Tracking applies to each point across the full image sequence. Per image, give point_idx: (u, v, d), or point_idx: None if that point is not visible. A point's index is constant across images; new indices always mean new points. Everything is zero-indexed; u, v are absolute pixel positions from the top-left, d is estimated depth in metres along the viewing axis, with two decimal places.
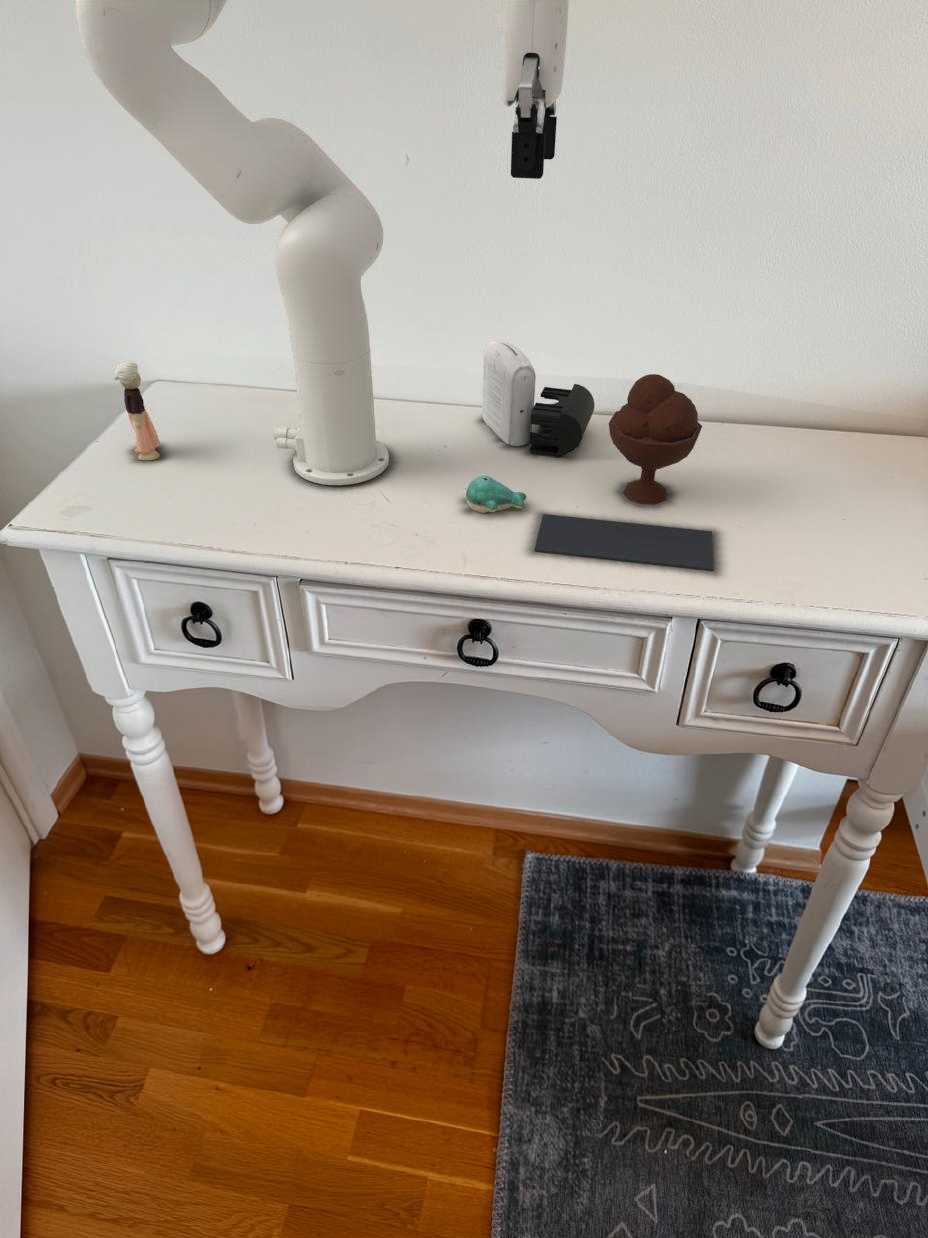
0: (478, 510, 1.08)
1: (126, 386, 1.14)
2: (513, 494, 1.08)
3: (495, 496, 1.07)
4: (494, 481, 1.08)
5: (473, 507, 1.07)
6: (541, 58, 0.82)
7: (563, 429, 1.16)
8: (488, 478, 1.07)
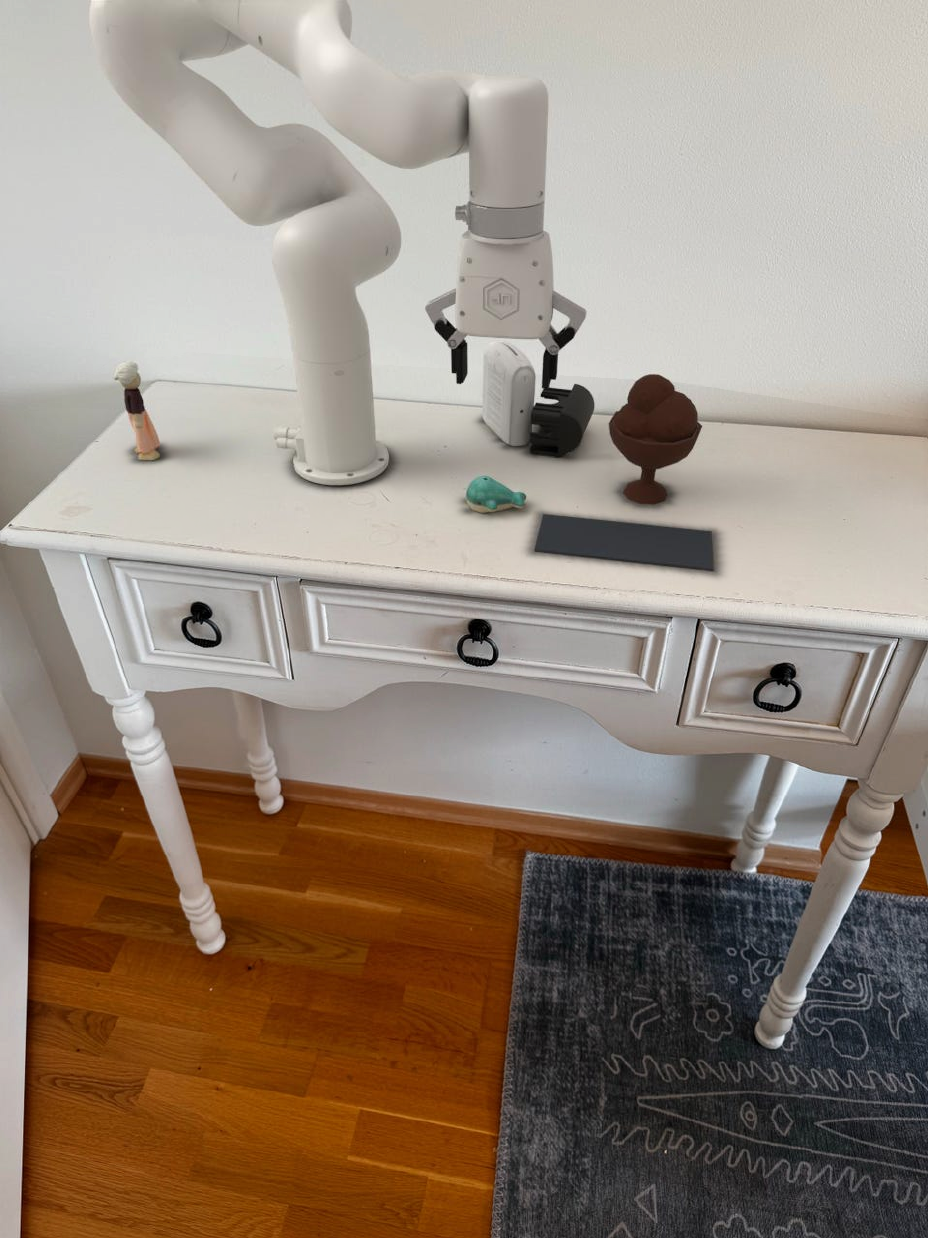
0: (478, 510, 1.08)
1: (126, 386, 1.14)
2: (513, 494, 1.08)
3: (495, 496, 1.07)
4: (494, 481, 1.08)
5: (473, 507, 1.07)
6: (553, 290, 0.94)
7: (563, 429, 1.16)
8: (488, 478, 1.07)
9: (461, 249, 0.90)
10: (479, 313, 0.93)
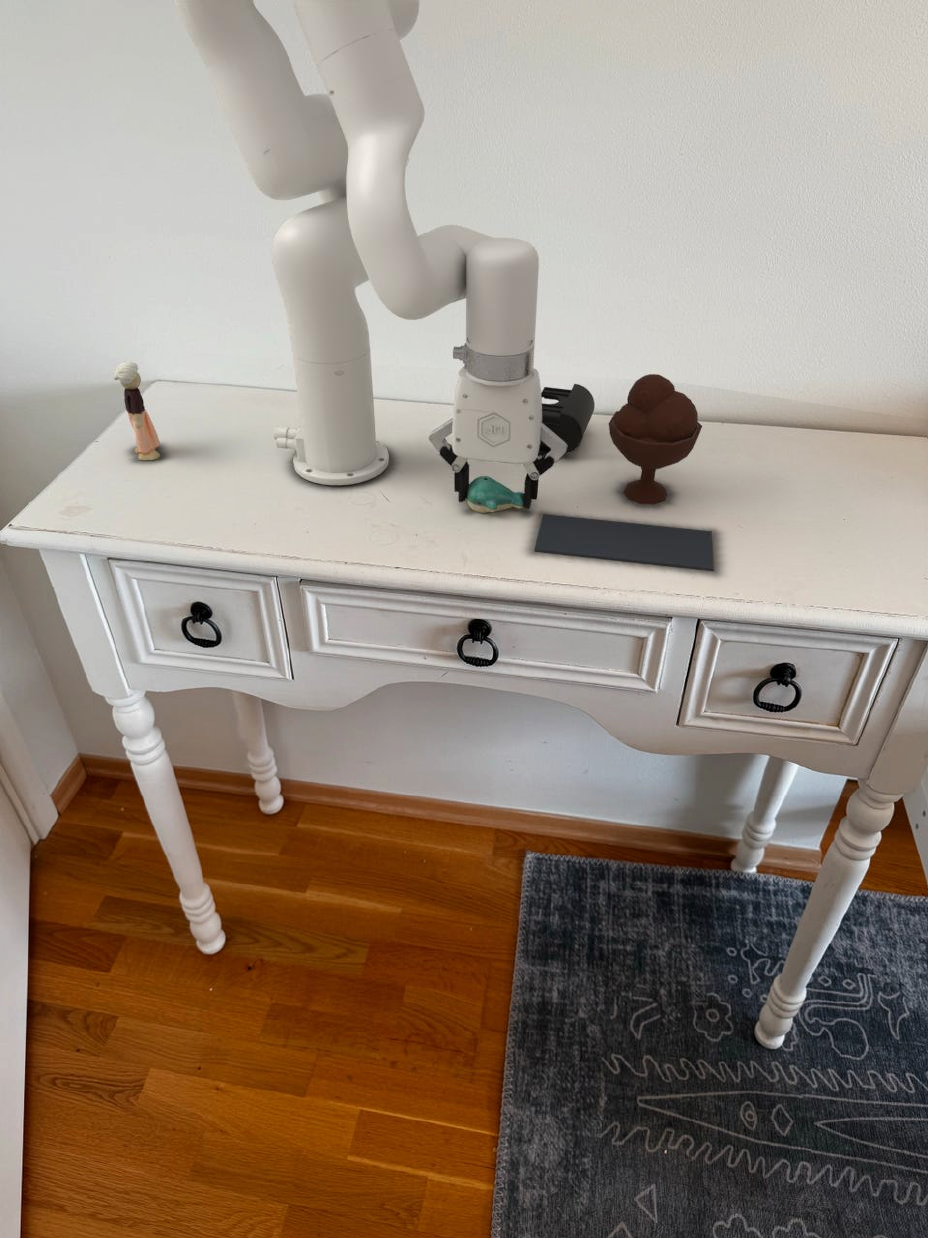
0: (478, 510, 1.08)
1: (126, 386, 1.14)
2: (513, 494, 1.08)
3: (495, 496, 1.07)
4: (494, 481, 1.08)
5: (473, 507, 1.07)
6: None
7: (563, 429, 1.16)
8: (488, 478, 1.07)
9: (457, 385, 0.99)
10: (474, 440, 1.01)
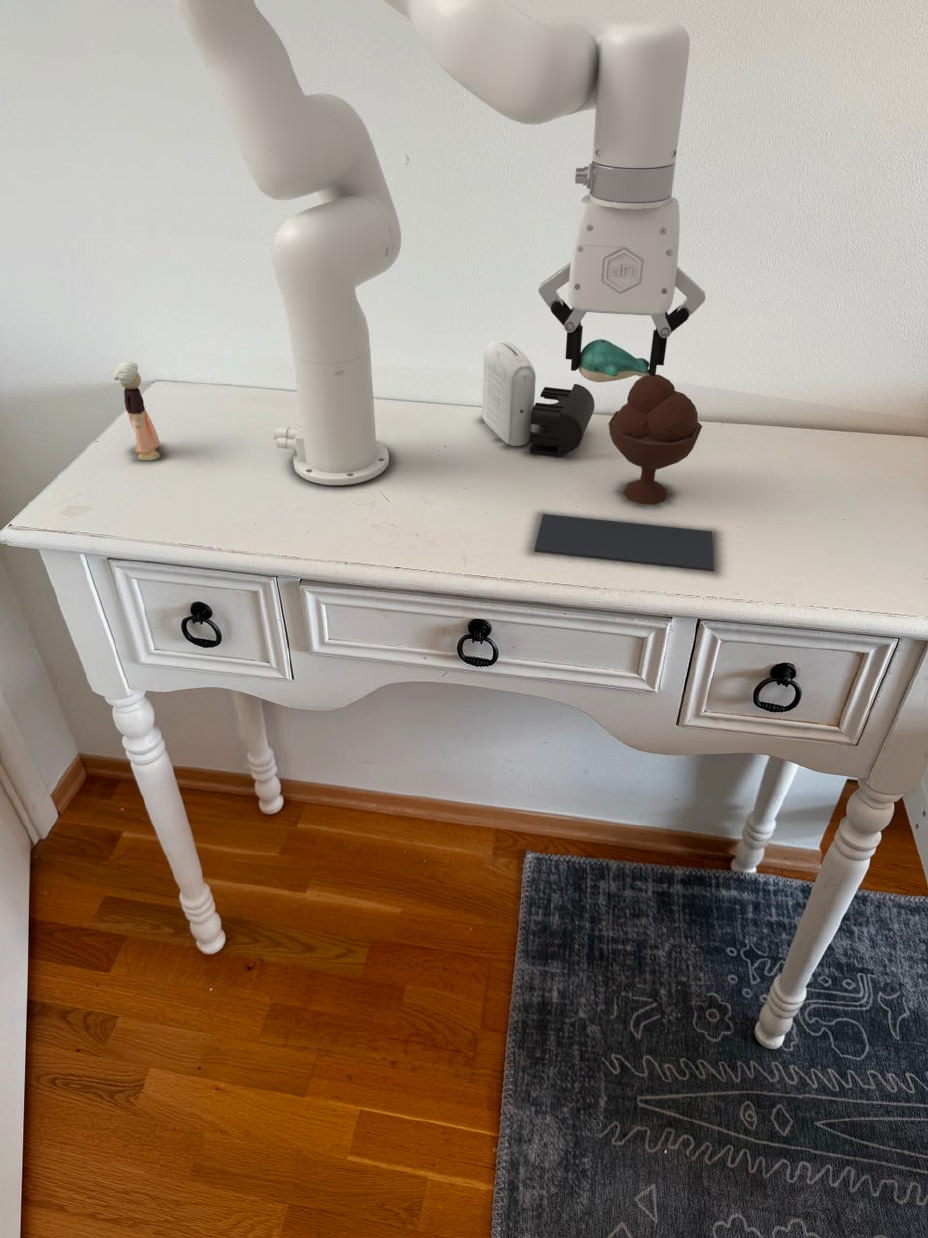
0: (594, 379, 0.91)
1: (126, 386, 1.14)
2: (635, 359, 0.91)
3: (615, 361, 0.90)
4: (613, 344, 0.91)
5: (589, 375, 0.91)
6: None
7: (563, 429, 1.16)
8: (606, 341, 0.91)
9: (580, 215, 0.82)
10: (596, 286, 0.85)
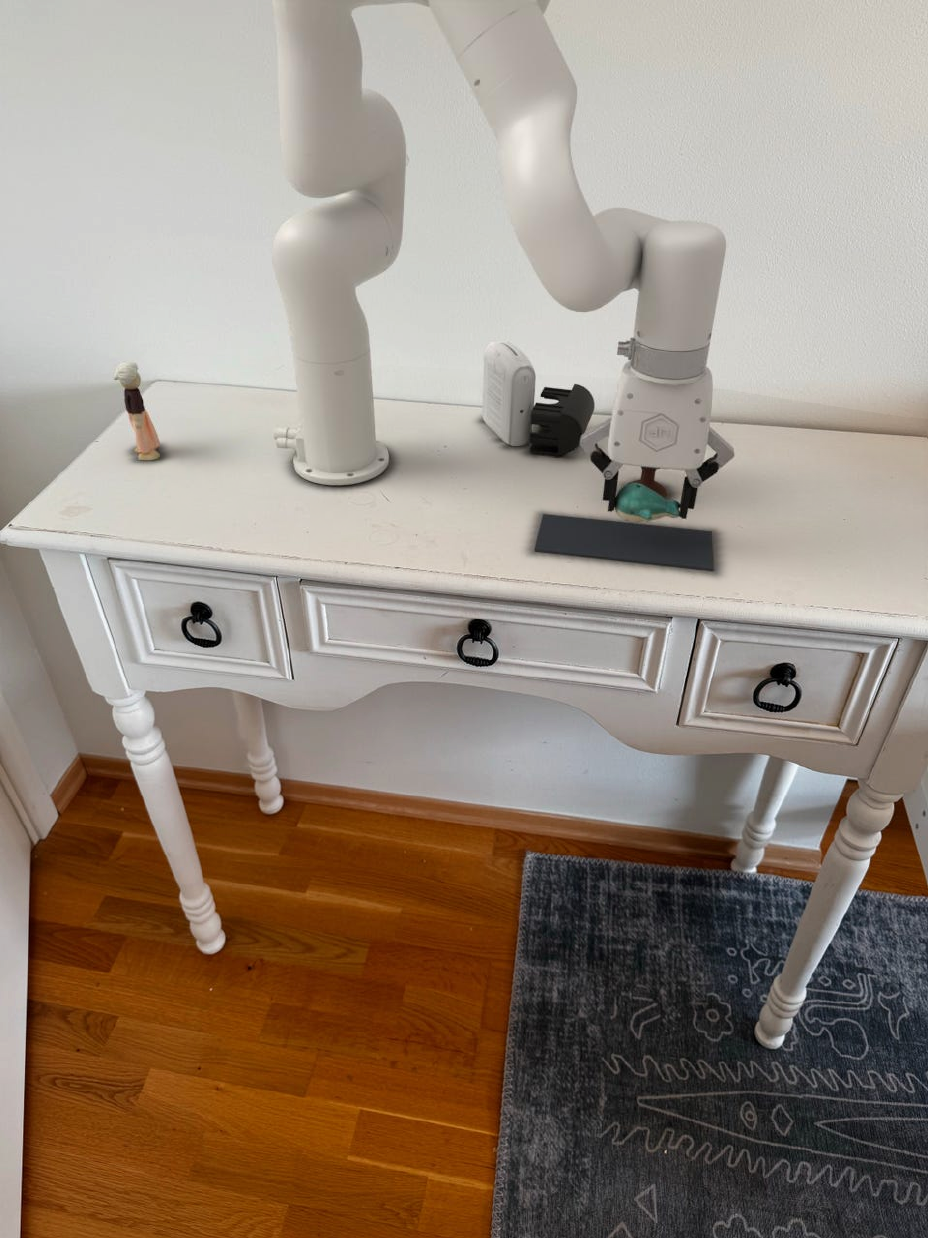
0: (630, 520, 0.99)
1: (126, 386, 1.14)
2: (668, 502, 0.99)
3: (650, 505, 0.98)
4: (647, 488, 0.99)
5: (625, 517, 0.99)
6: None
7: (563, 429, 1.16)
8: (641, 485, 0.99)
9: (622, 384, 0.90)
10: (634, 445, 0.93)
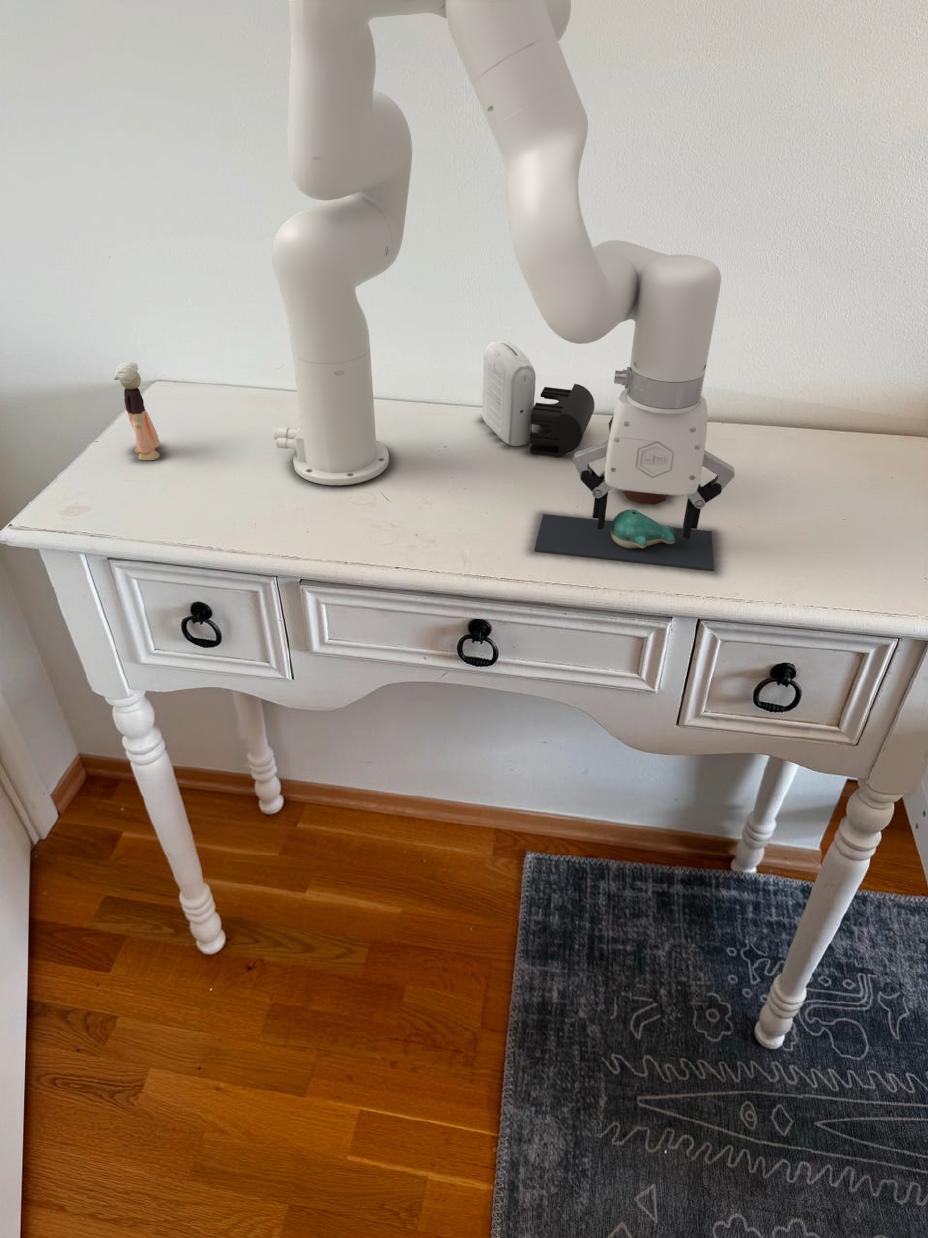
0: (625, 546, 1.01)
1: (126, 386, 1.14)
2: (663, 529, 1.01)
3: (645, 532, 1.00)
4: (643, 515, 1.01)
5: (621, 543, 1.01)
6: None
7: (563, 429, 1.16)
8: (636, 512, 1.01)
9: (618, 412, 0.92)
10: (630, 471, 0.94)
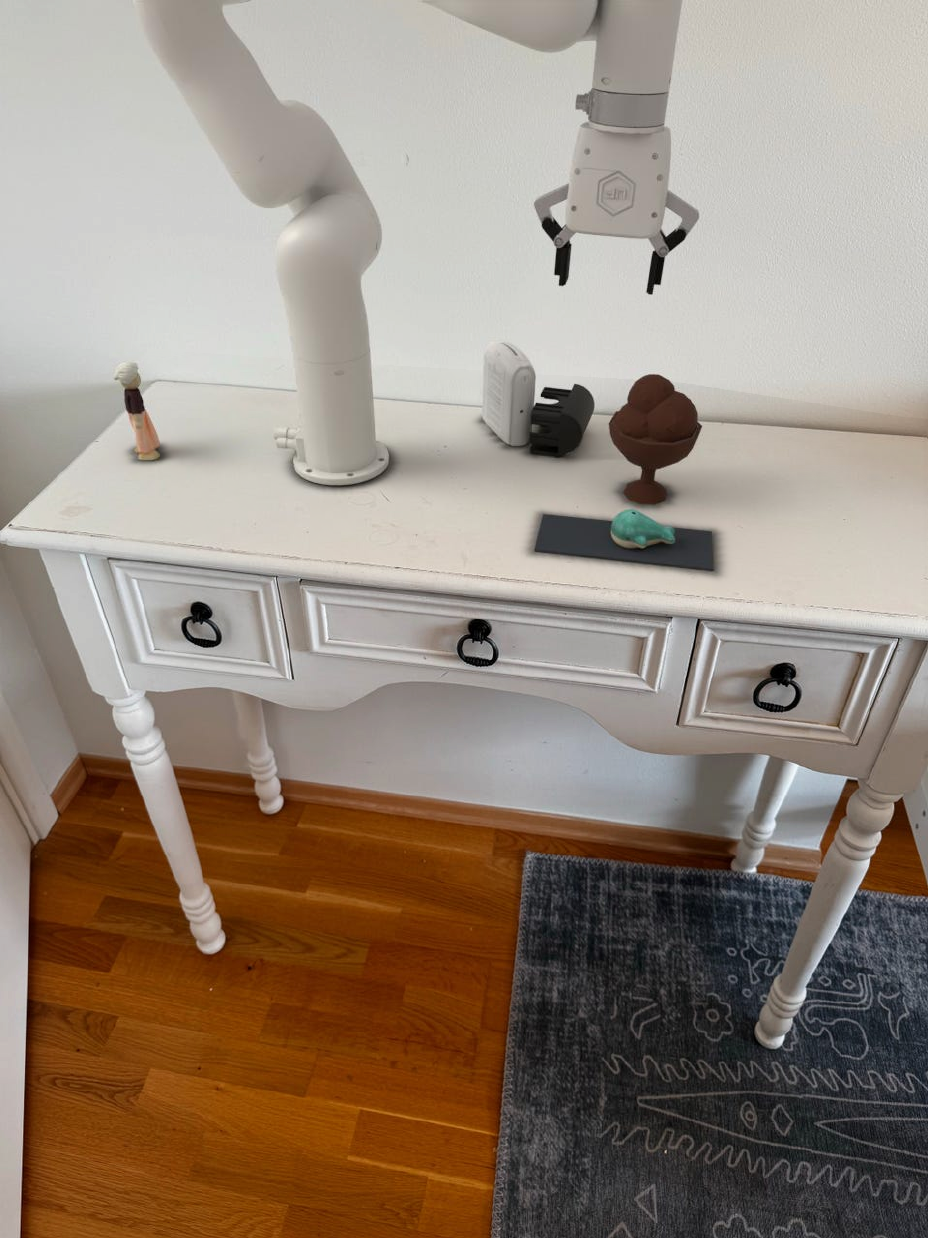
0: (625, 546, 1.01)
1: (126, 386, 1.14)
2: (663, 529, 1.01)
3: (645, 532, 1.00)
4: (643, 515, 1.01)
5: (621, 543, 1.01)
6: (667, 189, 0.92)
7: (563, 429, 1.16)
8: (636, 512, 1.01)
9: (579, 139, 0.89)
10: (591, 208, 0.91)
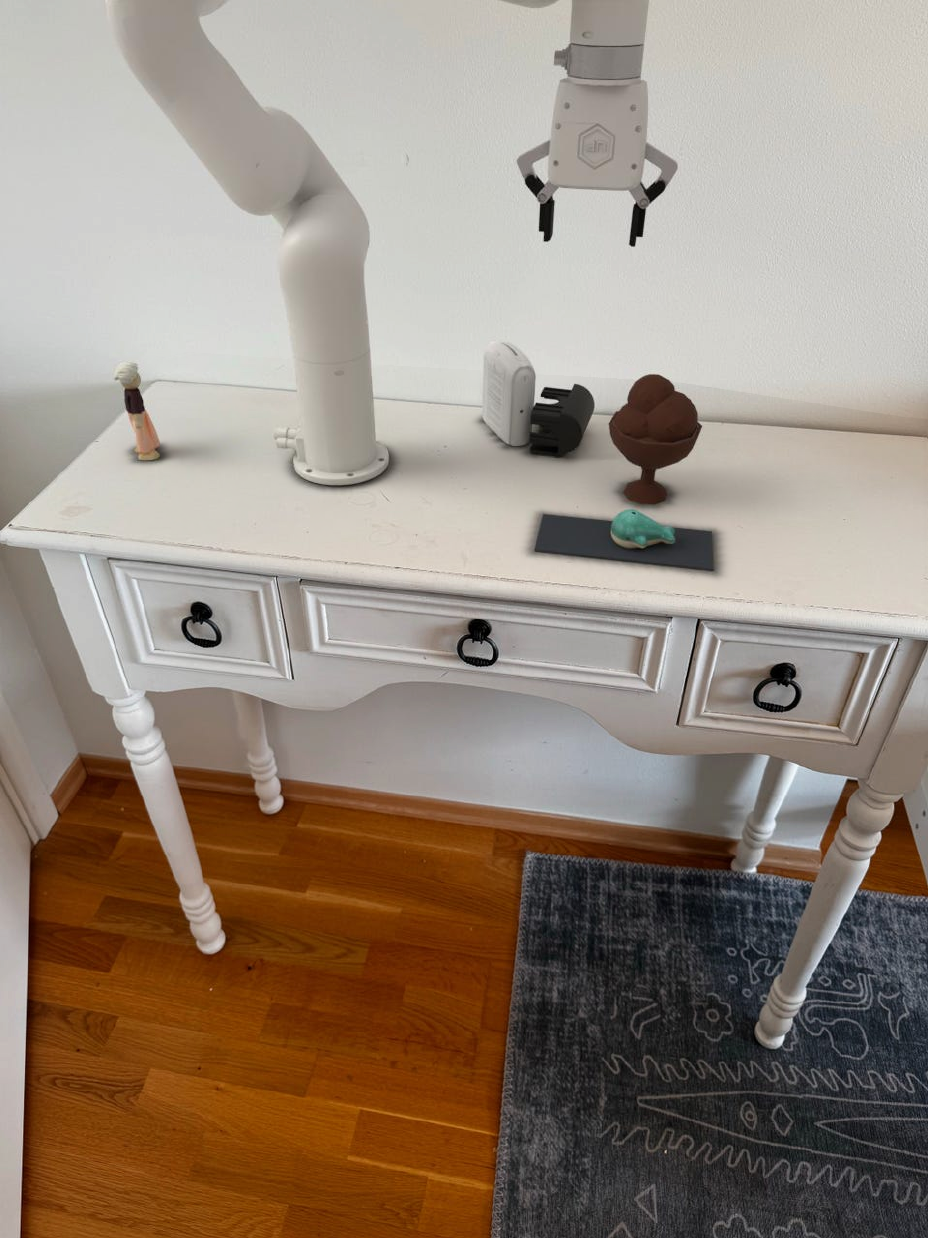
0: (625, 546, 1.01)
1: (126, 386, 1.14)
2: (663, 529, 1.01)
3: (645, 532, 1.00)
4: (643, 515, 1.01)
5: (621, 543, 1.01)
6: None
7: (563, 429, 1.16)
8: (636, 512, 1.01)
9: (558, 94, 0.91)
10: (573, 162, 0.94)
